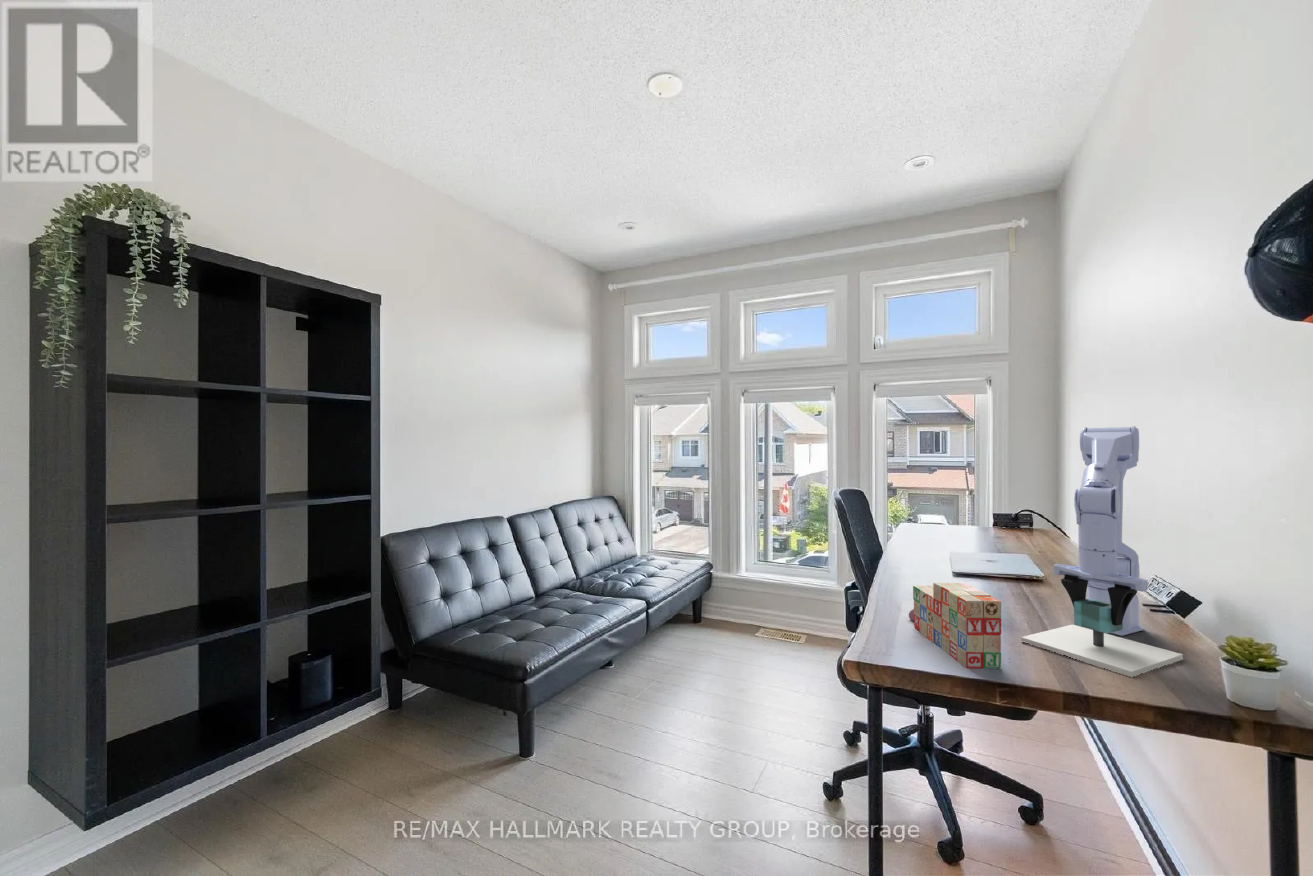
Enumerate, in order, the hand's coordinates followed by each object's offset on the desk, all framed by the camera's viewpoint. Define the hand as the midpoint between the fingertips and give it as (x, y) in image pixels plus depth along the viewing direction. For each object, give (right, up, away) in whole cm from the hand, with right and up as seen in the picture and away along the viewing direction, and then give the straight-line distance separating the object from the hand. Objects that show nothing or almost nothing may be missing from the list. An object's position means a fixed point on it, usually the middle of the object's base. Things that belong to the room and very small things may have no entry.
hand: (1098, 619), depth 102 cm
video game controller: (-23, -7, +18) cm, 29 cm away
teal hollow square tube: (0, -1, 0) cm, 1 cm away
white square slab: (0, -6, 0) cm, 6 cm away
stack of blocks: (-27, -6, +2) cm, 28 cm away
